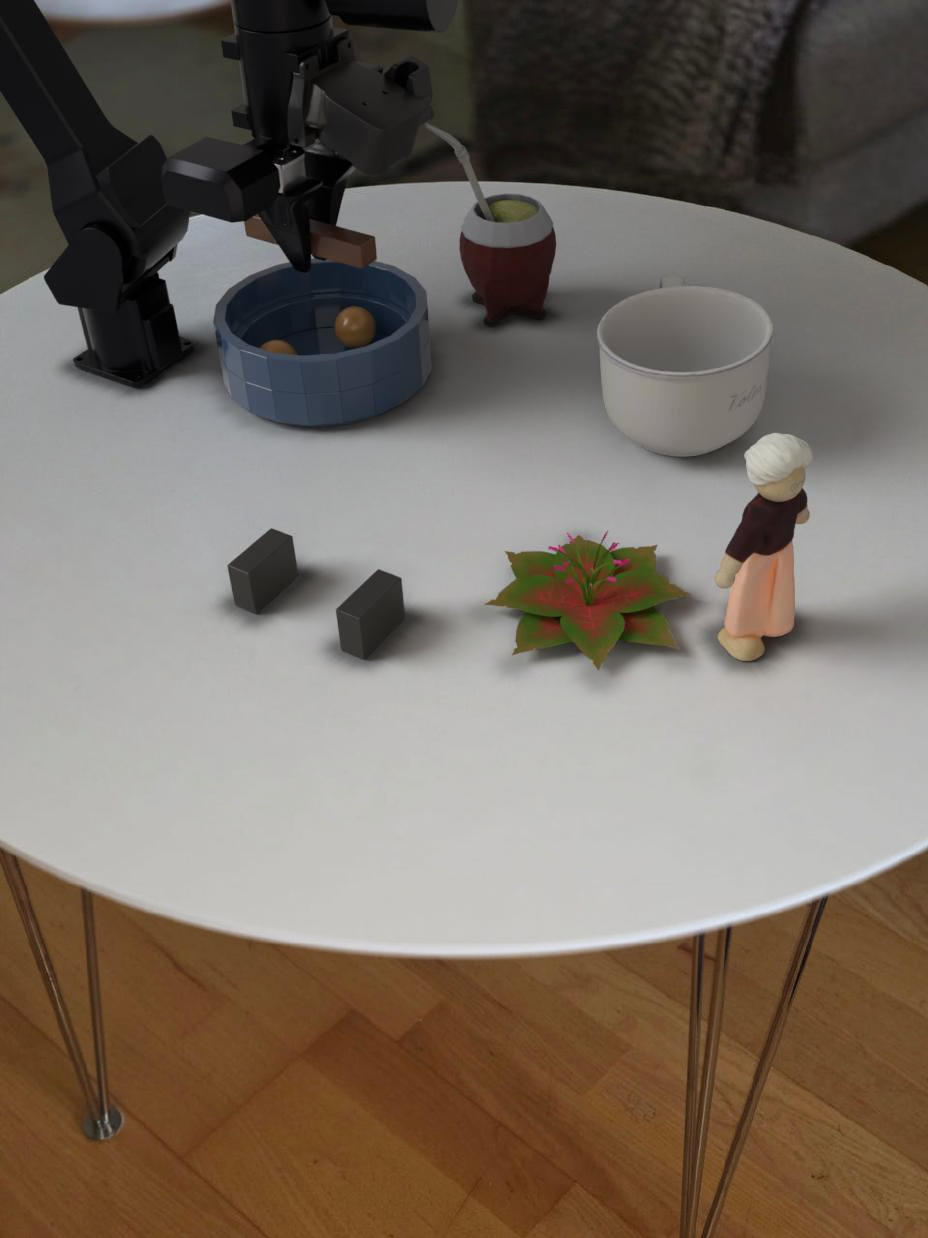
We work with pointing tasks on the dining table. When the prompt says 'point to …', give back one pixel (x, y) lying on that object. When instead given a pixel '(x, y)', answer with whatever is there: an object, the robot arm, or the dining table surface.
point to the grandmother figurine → (765, 547)
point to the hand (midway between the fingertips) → (311, 264)
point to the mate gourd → (505, 248)
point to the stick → (326, 242)
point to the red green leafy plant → (588, 597)
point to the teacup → (684, 366)
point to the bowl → (322, 342)
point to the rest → (357, 617)
